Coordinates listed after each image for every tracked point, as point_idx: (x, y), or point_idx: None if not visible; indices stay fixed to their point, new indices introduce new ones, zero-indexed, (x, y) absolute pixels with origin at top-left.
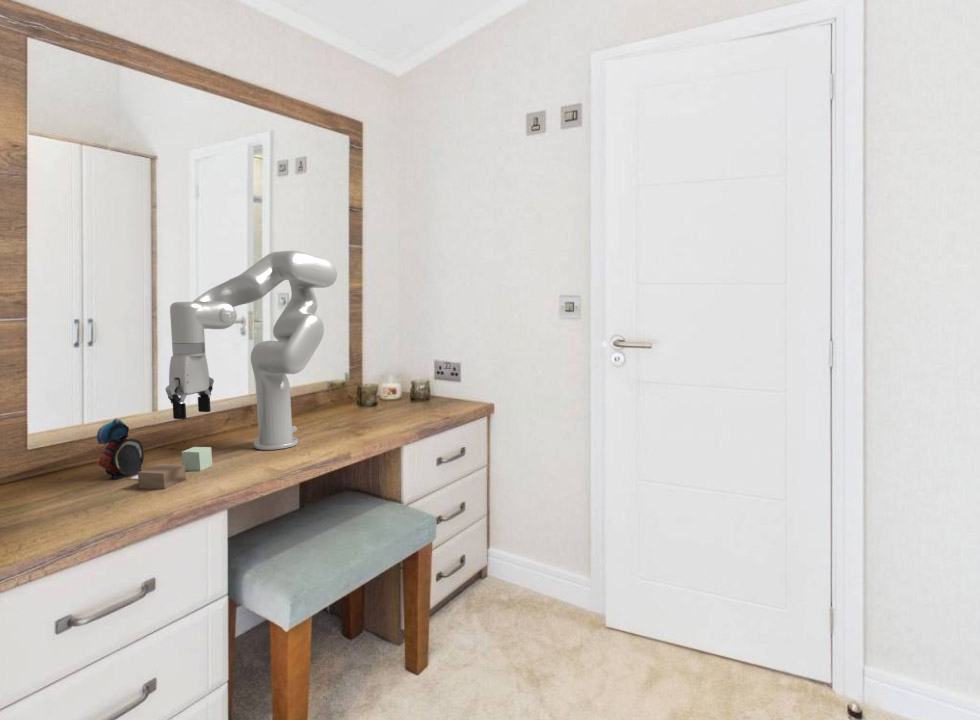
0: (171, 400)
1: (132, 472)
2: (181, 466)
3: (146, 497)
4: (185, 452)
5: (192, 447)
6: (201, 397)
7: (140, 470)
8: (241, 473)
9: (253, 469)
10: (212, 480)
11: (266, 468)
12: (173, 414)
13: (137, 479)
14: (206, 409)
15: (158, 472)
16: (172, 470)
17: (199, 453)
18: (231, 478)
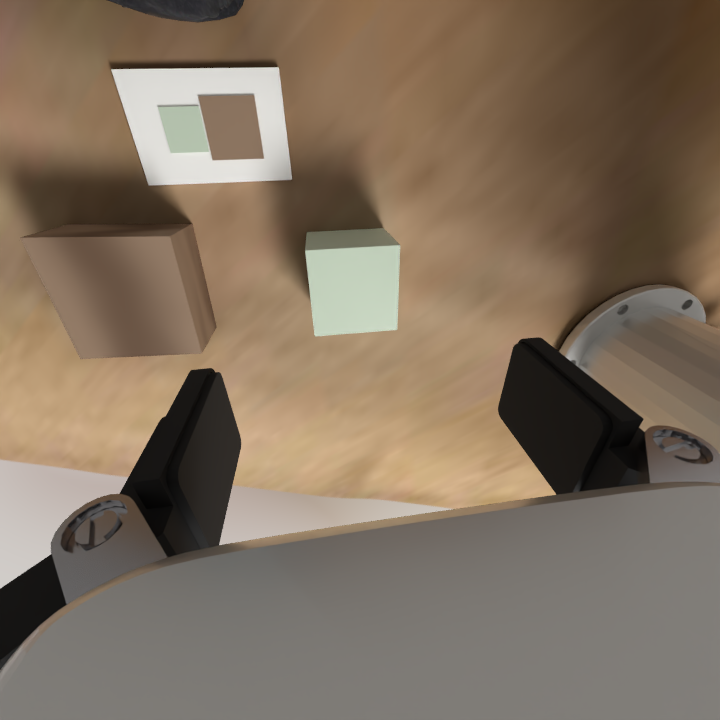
0: (20, 589)
1: (159, 9)
2: (182, 353)
3: (23, 335)
4: (308, 271)
5: (387, 245)
6: (600, 455)
7: (223, 11)
8: (317, 430)
9: (356, 435)
10: (240, 402)
11: (369, 456)
12: (181, 391)
13: (130, 119)
14: (508, 412)
15: (76, 332)
16: (132, 354)
17: (317, 333)
18: (272, 433)
